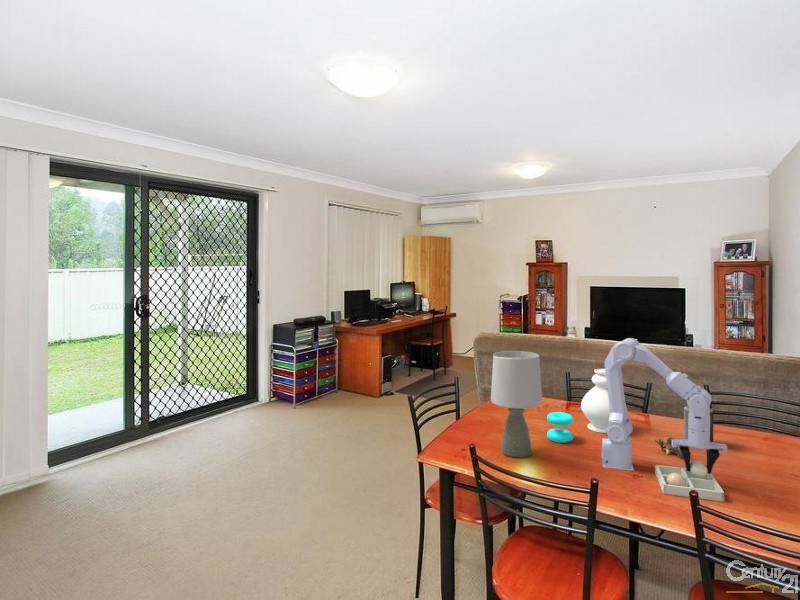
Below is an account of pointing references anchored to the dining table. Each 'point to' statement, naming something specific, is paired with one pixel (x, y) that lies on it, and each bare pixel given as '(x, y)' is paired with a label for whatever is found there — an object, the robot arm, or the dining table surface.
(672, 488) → the egg tray
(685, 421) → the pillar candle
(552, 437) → the donuts
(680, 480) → the brown egg
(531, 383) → the lamp
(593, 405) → the decorative vase
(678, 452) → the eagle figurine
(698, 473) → the cream egg
